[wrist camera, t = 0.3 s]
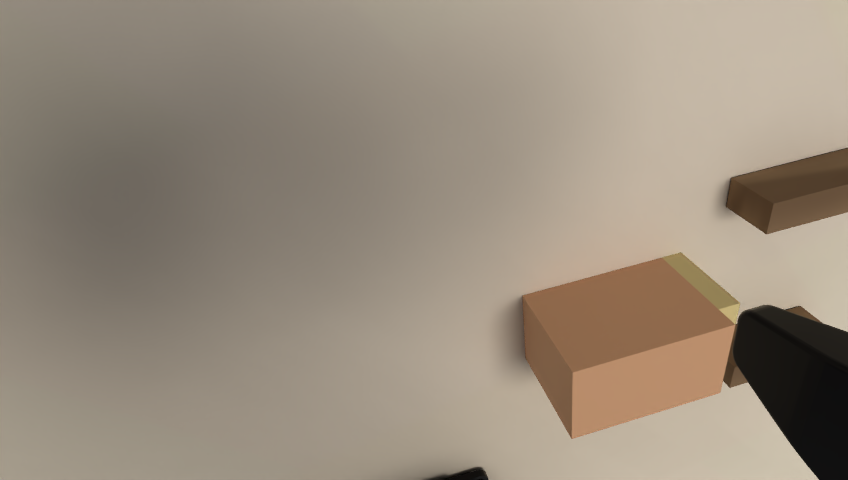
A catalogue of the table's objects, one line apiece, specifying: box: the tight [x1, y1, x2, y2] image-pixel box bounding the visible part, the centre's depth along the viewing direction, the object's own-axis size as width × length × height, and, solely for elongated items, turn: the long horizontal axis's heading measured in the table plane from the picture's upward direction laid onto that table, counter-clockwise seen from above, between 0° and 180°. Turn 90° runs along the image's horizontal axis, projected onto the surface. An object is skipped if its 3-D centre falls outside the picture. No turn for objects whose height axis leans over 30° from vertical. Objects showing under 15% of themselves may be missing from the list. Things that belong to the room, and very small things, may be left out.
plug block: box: [523, 253, 740, 439], centre depth 25 cm, size 4×8×5 cm, turn 99°
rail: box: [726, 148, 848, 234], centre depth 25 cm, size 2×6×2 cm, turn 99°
